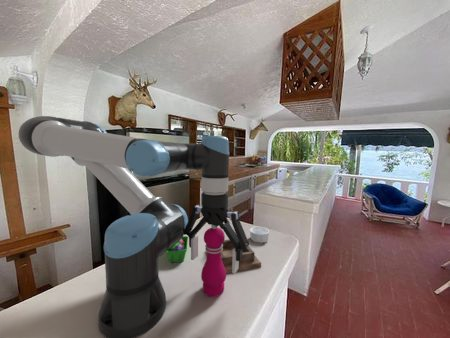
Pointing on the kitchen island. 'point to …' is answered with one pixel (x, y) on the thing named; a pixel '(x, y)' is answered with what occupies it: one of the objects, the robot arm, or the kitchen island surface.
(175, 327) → the kitchen island surface
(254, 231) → the ramekin
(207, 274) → the pepper mill
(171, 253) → the fruit basket
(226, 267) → the walnut stand
